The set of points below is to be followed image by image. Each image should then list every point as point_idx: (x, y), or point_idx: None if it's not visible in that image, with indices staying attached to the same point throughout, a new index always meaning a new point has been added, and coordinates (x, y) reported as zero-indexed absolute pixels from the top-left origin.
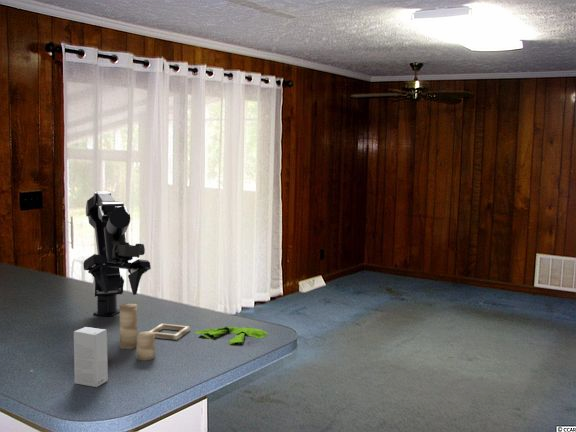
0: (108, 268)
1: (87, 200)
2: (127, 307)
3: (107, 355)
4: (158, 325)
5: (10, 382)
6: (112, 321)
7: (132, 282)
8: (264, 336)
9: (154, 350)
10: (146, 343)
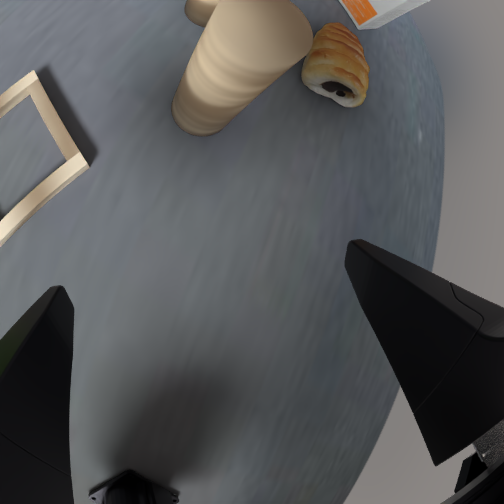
0: None
1: None
2: (284, 6)
3: (317, 38)
4: (8, 232)
5: (439, 115)
6: (136, 426)
7: (46, 419)
8: None
9: None
10: None
